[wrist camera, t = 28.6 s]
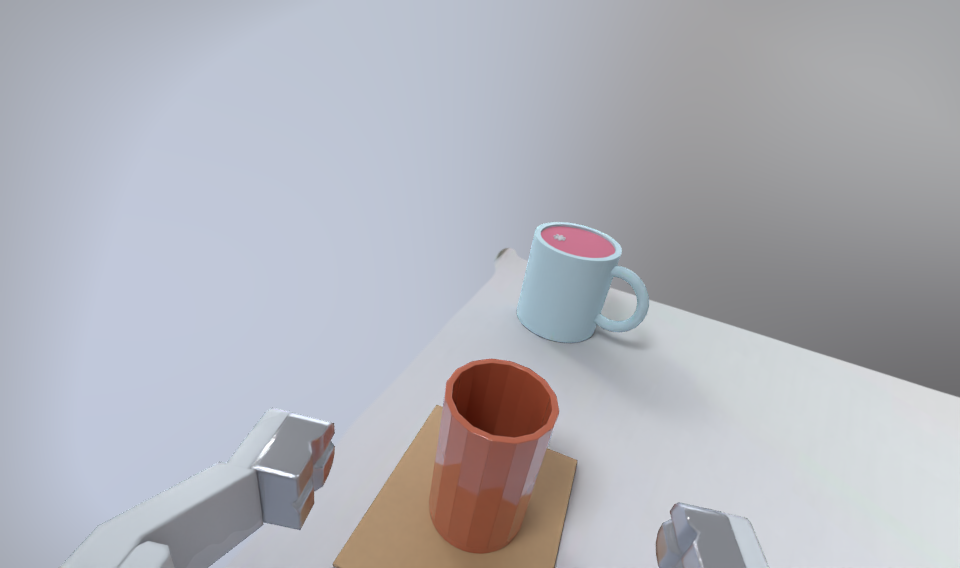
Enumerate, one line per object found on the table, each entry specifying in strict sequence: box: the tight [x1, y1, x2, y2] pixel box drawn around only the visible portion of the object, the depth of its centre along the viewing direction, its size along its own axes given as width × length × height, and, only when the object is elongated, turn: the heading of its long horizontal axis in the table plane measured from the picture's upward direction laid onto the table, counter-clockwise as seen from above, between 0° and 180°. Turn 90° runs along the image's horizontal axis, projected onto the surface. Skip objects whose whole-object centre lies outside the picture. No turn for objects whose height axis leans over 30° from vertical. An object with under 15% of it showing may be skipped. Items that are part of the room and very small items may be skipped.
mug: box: [517, 222, 649, 343], centre depth 49 cm, size 14×9×10 cm
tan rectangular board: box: [333, 405, 577, 568], centre depth 30 cm, size 14×12×1 cm
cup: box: [429, 359, 559, 554], centre depth 28 cm, size 6×6×10 cm
